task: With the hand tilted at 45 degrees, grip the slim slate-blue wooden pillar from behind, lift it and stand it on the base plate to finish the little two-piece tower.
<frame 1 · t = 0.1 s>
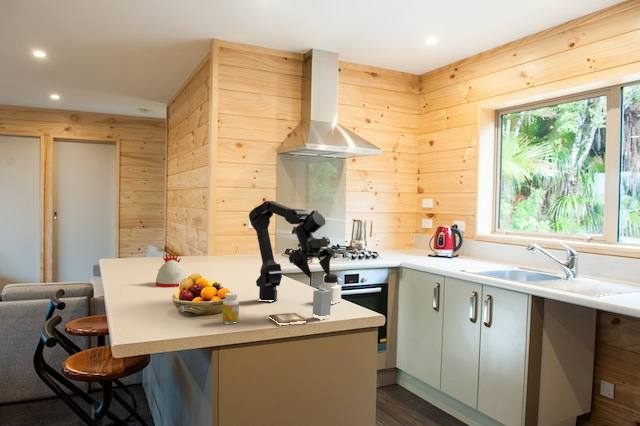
hand: (319, 276, 171), 15 cm above the countertop, tool tilted 35°, fingers open, 9 cm apart
supplement bottle: (230, 322, 157), on the countertop
pillar: (321, 318, 168), on the countertop
pedestal: (287, 321, 162), on the countertop
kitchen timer: (171, 285, 221), on the countertop
medicine bottle: (329, 303, 196), on the countertop
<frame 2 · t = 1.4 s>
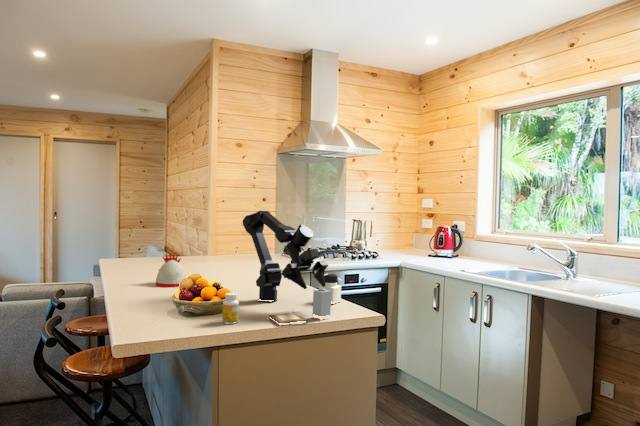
hand: (315, 287, 171), 11 cm above the countertop, tool tilted 45°, fingers open, 9 cm apart
nothing on the countertop moved.
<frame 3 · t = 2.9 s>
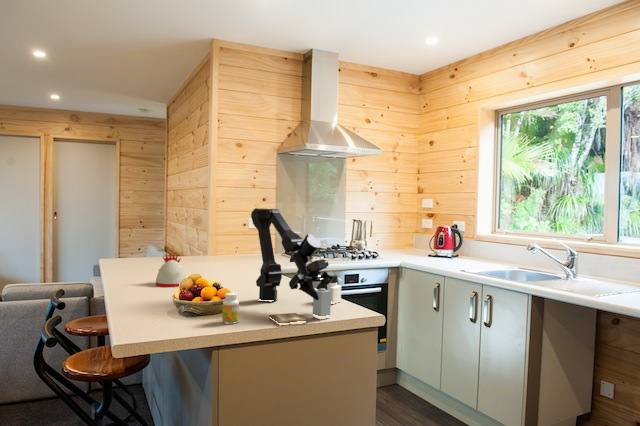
hand: (322, 298, 168), 7 cm above the countertop, tool tilted 45°, fingers closed on pillar, 4 cm apart
pillar: (321, 318, 168), on the countertop, touching gripper
everything else where it was.
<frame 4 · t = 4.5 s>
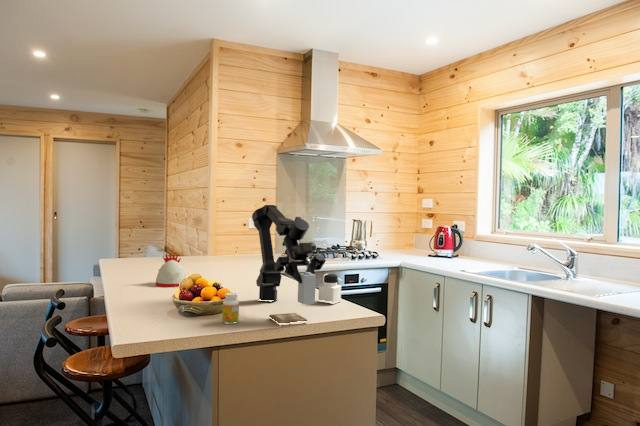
hand: (307, 282, 164), 13 cm above the countertop, tool tilted 45°, fingers closed on pillar, 4 cm apart
pillar: (306, 302, 164), point 6 cm above the countertop, touching gripper
everything else where it was.
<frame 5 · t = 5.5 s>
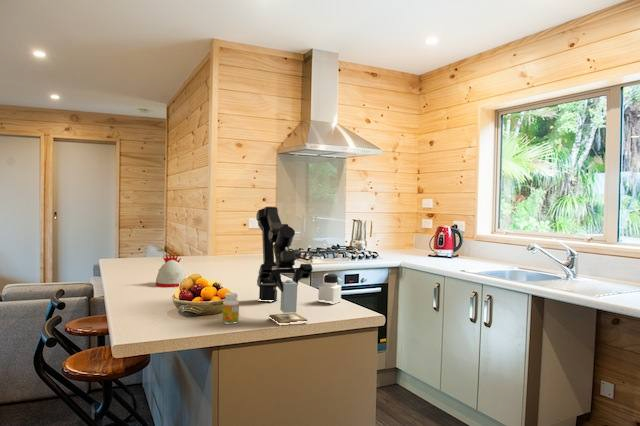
hand: (289, 291, 161), 11 cm above the countertop, tool tilted 45°, fingers closed on pillar, 4 cm apart
pillar: (288, 311, 162), point 4 cm above the countertop, touching gripper
everything else where it was.
when the fingers open (9 cm above the countertop, at t = 6.0 s): pillar stays where it is, resting on pedestal.
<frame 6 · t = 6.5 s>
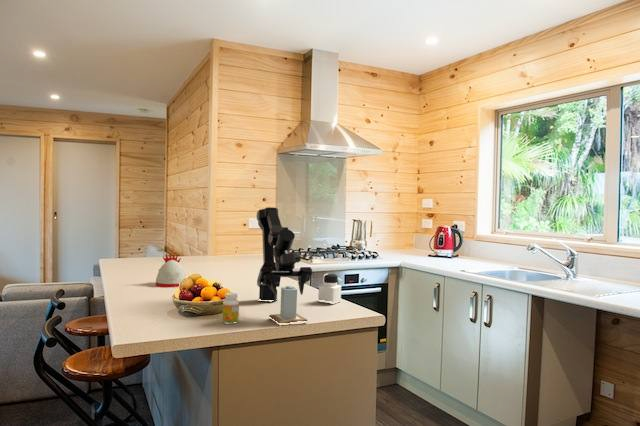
hand: (289, 294, 161), 10 cm above the countertop, tool tilted 45°, fingers open, 9 cm apart
pillar: (288, 317, 162), point 2 cm above the countertop, touching pedestal
everything else where it was.
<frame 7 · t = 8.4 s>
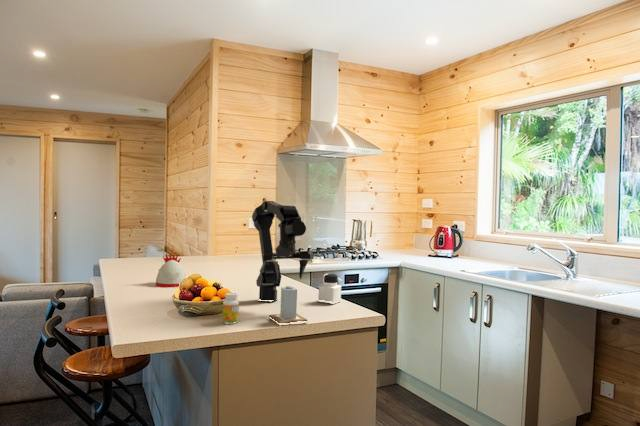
hand: (288, 279, 176), 12 cm above the countertop, tool pointing down, fingers open, 9 cm apart
nothing on the countertop moved.
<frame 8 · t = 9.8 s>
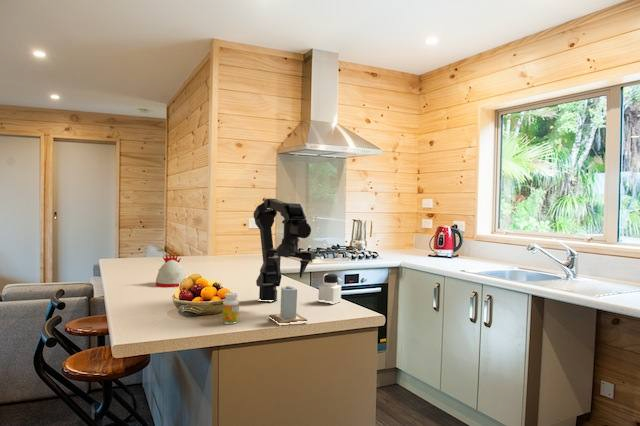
hand: (289, 276, 178), 13 cm above the countertop, tool pointing down, fingers open, 9 cm apart
nothing on the countertop moved.
at the end: pillar inside the target area on the pedestal (0.1 cm from its centre), point 1.5 cm above the pedestal's base; pillar tilted 0°; the gripper is holding nothing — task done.
